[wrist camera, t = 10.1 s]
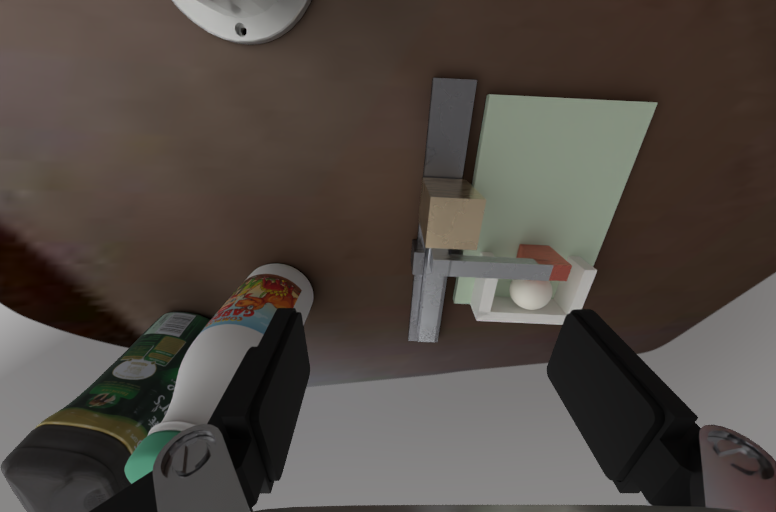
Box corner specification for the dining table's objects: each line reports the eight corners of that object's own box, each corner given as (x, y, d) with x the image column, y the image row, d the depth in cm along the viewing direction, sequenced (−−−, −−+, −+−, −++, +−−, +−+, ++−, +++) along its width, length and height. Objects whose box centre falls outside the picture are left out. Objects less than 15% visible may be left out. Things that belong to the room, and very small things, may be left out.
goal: (480, 251, 31) (488, 265, 28) (579, 256, 31) (597, 270, 28) (470, 304, 34) (476, 320, 31) (560, 308, 34) (575, 325, 31)
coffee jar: (228, 370, 41) (113, 551, 24) (168, 360, 40) (7, 539, 23) (225, 314, 36) (84, 485, 20) (158, 302, 36) (-46, 469, 19)
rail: (426, 78, 25) (430, 74, 22) (480, 81, 25) (491, 77, 22) (404, 336, 38) (404, 354, 35) (440, 337, 38) (444, 356, 35)
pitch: (486, 94, 26) (490, 94, 25) (648, 102, 26) (657, 102, 25) (452, 298, 35) (454, 303, 34) (571, 303, 35) (576, 309, 34)
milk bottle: (328, 292, 35) (259, 486, 17) (287, 327, 37) (187, 529, 19) (276, 247, 32) (130, 418, 14) (235, 288, 35) (66, 478, 17)
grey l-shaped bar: (422, 177, 28) (430, 197, 21) (567, 184, 28) (618, 205, 21) (408, 329, 36) (411, 377, 29) (520, 335, 36) (548, 383, 29)
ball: (522, 302, 28) (506, 313, 32) (564, 304, 28) (543, 314, 32) (516, 263, 30) (501, 278, 33) (556, 265, 30) (537, 279, 33)
